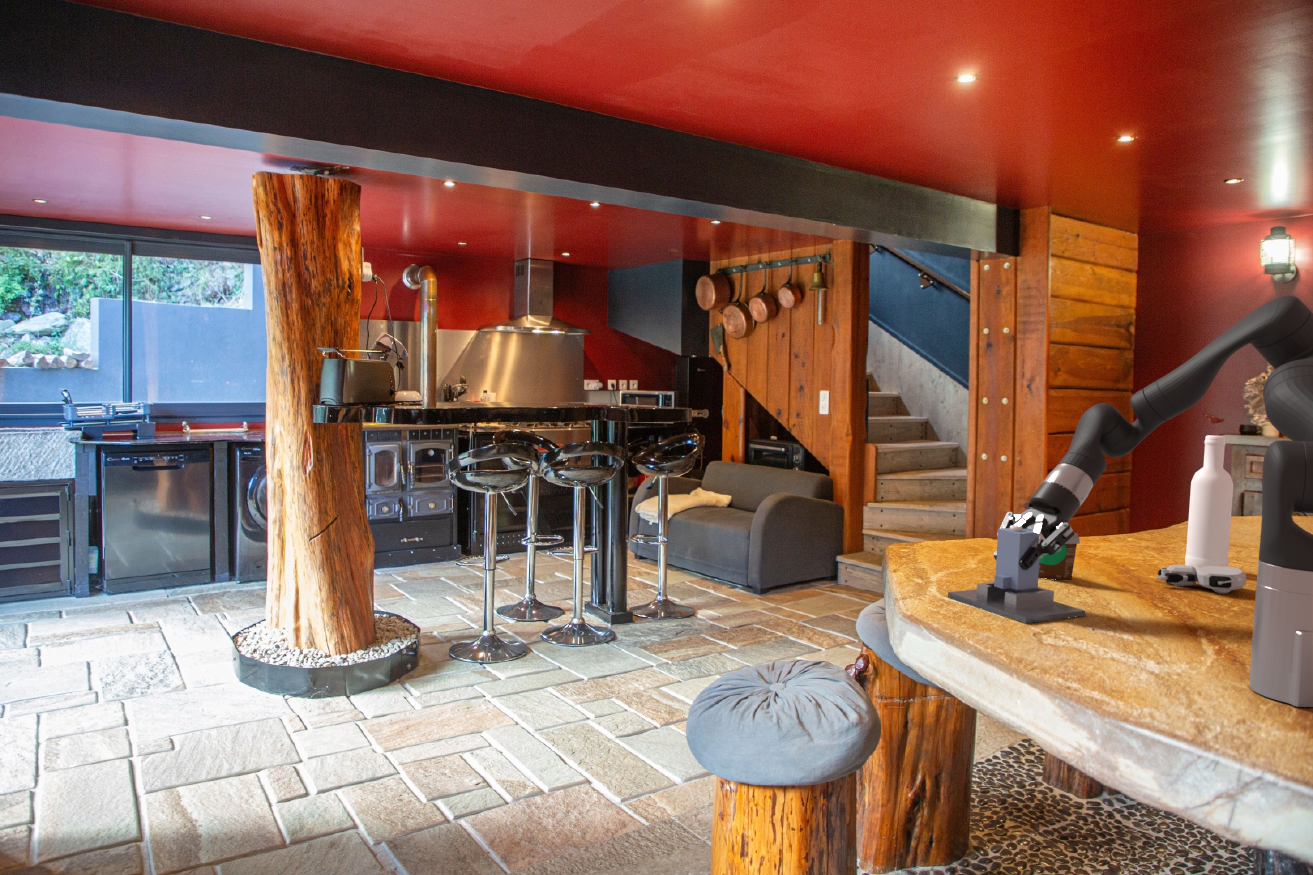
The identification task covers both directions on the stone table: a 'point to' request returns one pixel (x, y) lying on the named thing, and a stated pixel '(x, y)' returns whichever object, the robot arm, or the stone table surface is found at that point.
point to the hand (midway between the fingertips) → (1009, 563)
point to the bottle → (1210, 509)
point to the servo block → (1014, 559)
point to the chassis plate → (1017, 603)
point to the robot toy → (1204, 577)
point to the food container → (1059, 561)
